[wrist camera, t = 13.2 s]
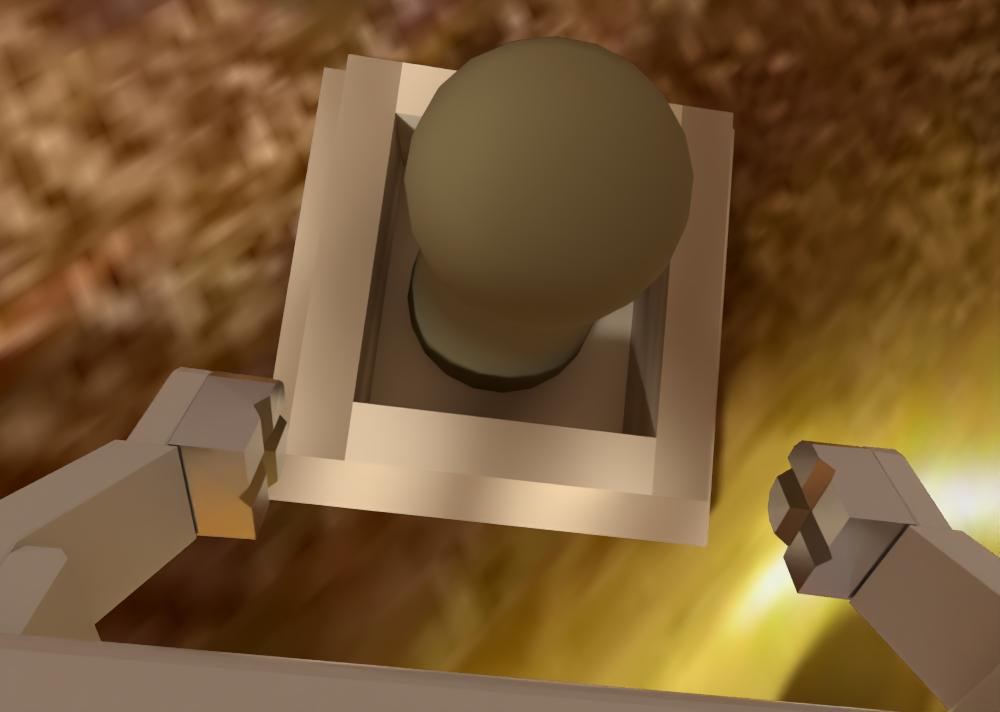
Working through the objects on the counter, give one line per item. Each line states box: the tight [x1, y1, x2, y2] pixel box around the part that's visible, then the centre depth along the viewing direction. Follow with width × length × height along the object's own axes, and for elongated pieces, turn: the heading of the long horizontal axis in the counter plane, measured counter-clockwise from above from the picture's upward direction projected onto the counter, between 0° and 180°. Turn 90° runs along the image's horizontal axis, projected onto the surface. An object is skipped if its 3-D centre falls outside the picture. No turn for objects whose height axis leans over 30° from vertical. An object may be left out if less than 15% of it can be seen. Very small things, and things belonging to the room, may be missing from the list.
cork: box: [404, 36, 694, 393], centre depth 16 cm, size 6×6×11 cm
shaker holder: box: [268, 54, 735, 547], centre depth 20 cm, size 14×14×5 cm
